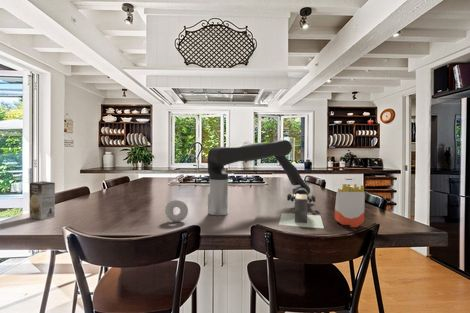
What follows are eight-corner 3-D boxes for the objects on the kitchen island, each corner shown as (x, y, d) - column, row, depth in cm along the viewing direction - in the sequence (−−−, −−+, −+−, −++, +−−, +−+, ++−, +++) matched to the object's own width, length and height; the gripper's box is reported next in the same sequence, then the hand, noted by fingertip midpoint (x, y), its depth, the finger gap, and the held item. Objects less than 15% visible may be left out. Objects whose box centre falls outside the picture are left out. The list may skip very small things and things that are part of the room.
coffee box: (28, 217, 124) (28, 182, 124) (43, 214, 130) (43, 181, 130) (41, 220, 121) (40, 183, 120) (55, 217, 126) (55, 182, 126)
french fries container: (334, 224, 120) (335, 182, 119) (358, 224, 120) (359, 183, 119) (338, 226, 115) (339, 184, 114) (364, 227, 115) (365, 184, 115)
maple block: (294, 222, 118) (295, 199, 118) (295, 214, 131) (295, 194, 131) (307, 223, 117) (307, 199, 116) (306, 215, 130) (307, 194, 130)
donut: (164, 222, 119) (164, 199, 118) (166, 220, 122) (166, 198, 122) (187, 223, 118) (187, 200, 118) (188, 221, 122) (188, 198, 122)
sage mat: (278, 227, 114) (278, 224, 114) (282, 215, 135) (282, 213, 135) (323, 230, 109) (323, 228, 109) (320, 217, 131) (320, 215, 131)
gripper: (288, 187, 155) (286, 192, 139) (314, 189, 151) (316, 193, 135) (288, 201, 155) (286, 206, 139) (314, 202, 151) (315, 208, 136)
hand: (301, 200), depth 137 cm, fingers open, 8 cm apart
